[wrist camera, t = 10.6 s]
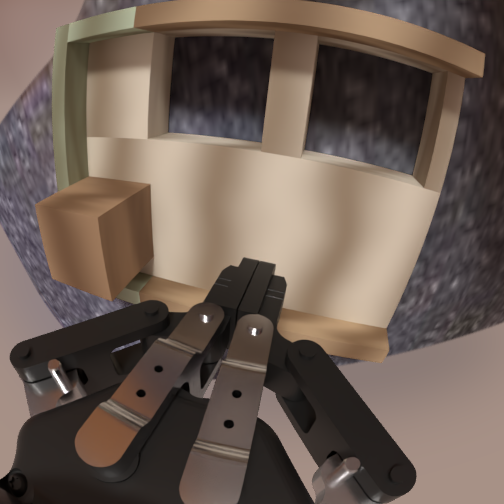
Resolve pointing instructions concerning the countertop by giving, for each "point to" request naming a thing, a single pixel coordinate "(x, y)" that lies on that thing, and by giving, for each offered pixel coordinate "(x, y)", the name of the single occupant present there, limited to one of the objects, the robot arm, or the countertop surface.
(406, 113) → the countertop surface
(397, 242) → the trap lane
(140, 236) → the walnut block
